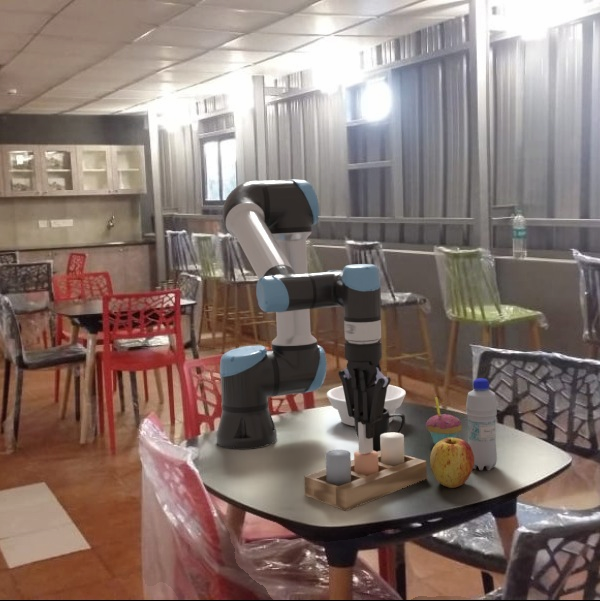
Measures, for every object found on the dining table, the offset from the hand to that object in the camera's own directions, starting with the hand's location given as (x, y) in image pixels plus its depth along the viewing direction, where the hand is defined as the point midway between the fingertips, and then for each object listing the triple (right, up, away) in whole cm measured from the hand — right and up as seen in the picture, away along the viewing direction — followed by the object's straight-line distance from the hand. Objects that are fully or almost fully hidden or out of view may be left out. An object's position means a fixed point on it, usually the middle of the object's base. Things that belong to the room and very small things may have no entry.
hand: (365, 452), depth 171 cm
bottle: (+26, -5, +10) cm, 29 cm away
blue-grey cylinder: (-6, -5, -5) cm, 9 cm away
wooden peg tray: (0, -7, +1) cm, 8 cm away
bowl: (+4, -1, +49) cm, 49 cm away
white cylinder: (+6, -3, +6) cm, 9 cm away
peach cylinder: (0, -6, +1) cm, 6 cm away
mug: (+5, -4, +25) cm, 26 cm away
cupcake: (+21, -3, +28) cm, 36 cm away
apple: (+18, -7, 0) cm, 19 cm away
